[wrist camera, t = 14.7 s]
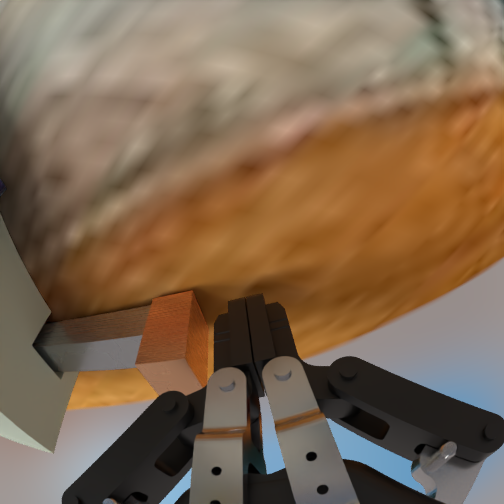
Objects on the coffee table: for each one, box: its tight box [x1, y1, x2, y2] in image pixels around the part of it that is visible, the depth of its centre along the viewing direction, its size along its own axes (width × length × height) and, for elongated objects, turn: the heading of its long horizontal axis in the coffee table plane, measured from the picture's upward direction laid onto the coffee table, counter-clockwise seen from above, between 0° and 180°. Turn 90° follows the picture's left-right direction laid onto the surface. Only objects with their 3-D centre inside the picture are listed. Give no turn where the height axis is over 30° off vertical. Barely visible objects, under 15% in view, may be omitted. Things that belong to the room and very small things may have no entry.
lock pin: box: [32, 290, 209, 396], centre depth 11 cm, size 13×2×4 cm, turn 102°
